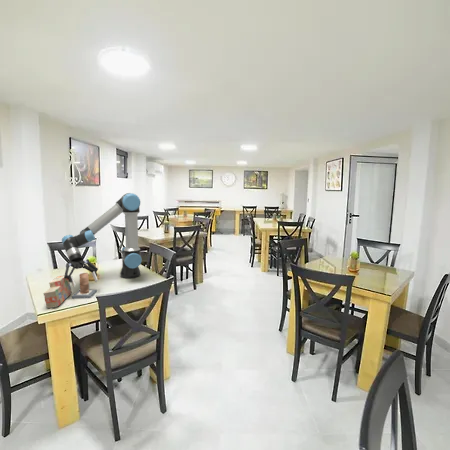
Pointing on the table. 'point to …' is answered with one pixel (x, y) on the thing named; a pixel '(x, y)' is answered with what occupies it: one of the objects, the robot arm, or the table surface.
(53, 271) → the table surface
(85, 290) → the column
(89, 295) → the base board
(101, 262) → the table surface
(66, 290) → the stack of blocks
